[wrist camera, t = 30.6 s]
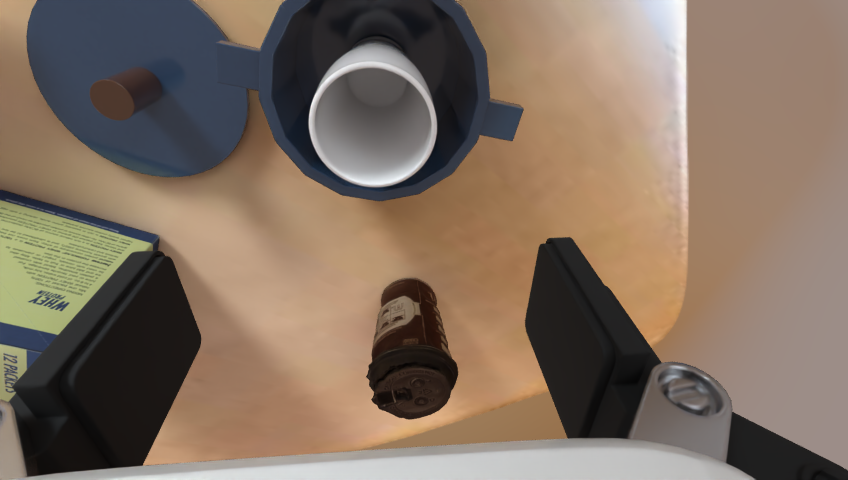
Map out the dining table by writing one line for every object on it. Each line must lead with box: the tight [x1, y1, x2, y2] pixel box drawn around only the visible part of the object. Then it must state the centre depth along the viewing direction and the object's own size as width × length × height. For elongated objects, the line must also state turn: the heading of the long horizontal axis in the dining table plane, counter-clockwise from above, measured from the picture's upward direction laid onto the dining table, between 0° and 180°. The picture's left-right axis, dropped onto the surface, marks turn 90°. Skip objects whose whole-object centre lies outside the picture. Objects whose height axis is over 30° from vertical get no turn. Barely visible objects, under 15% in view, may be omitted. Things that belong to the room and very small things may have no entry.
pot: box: [216, 0, 524, 201], centre depth 31 cm, size 15×20×9 cm
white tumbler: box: [309, 36, 437, 187], centre depth 28 cm, size 7×7×15 cm
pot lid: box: [27, 0, 249, 177], centre depth 32 cm, size 16×16×6 cm
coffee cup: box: [366, 278, 458, 419], centre depth 43 cm, size 9×8×13 cm
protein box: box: [0, 190, 159, 402], centre depth 35 cm, size 10×16×16 cm
